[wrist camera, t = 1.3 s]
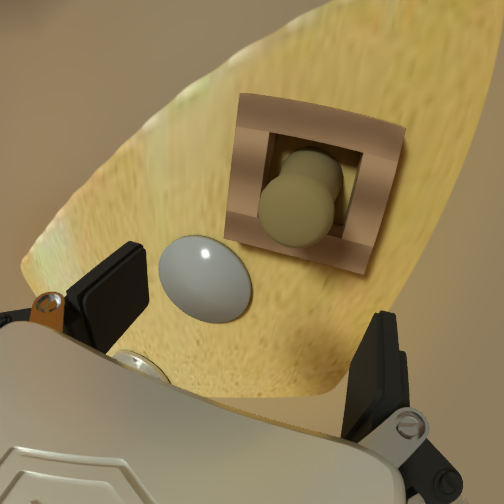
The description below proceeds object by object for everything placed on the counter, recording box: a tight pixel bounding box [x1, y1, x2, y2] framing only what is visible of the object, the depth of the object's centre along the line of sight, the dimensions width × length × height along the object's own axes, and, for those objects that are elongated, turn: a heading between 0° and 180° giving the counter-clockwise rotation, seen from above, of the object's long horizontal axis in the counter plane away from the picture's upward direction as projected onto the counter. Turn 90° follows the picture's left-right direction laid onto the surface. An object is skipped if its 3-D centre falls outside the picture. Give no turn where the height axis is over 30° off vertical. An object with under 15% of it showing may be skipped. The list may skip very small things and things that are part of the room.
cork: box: [258, 147, 343, 249], centre depth 25 cm, size 6×6×11 cm
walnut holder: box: [224, 93, 406, 275], centre depth 28 cm, size 14×14×3 cm
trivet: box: [159, 235, 252, 323], centre depth 38 cm, size 12×12×1 cm
